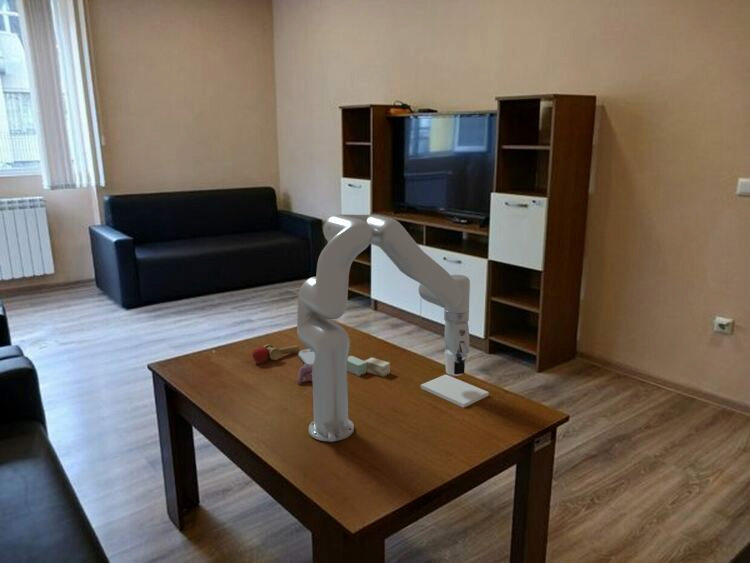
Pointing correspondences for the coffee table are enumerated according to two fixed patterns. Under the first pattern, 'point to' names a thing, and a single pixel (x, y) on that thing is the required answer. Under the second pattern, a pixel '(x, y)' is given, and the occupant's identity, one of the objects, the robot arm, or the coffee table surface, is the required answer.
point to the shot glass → (450, 361)
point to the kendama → (272, 352)
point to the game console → (307, 356)
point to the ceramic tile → (454, 390)
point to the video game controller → (305, 373)
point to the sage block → (356, 365)
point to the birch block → (378, 366)
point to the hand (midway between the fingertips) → (455, 368)
